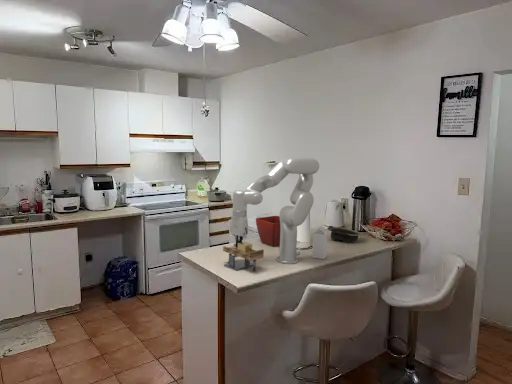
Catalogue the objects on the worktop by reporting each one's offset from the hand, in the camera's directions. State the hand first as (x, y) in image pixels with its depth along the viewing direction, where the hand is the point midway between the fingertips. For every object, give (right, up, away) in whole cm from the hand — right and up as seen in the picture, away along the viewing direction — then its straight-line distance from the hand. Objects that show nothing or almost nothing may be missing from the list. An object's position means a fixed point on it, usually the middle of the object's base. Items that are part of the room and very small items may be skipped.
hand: (238, 247), depth 193 cm
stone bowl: (+73, -5, +64) cm, 97 cm away
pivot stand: (+2, -10, 0) cm, 11 cm away
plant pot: (+21, -5, +48) cm, 53 cm away
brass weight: (+3, -2, -4) cm, 6 cm away
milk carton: (+47, -9, +21) cm, 52 cm away
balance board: (+2, -3, -2) cm, 4 cm away
